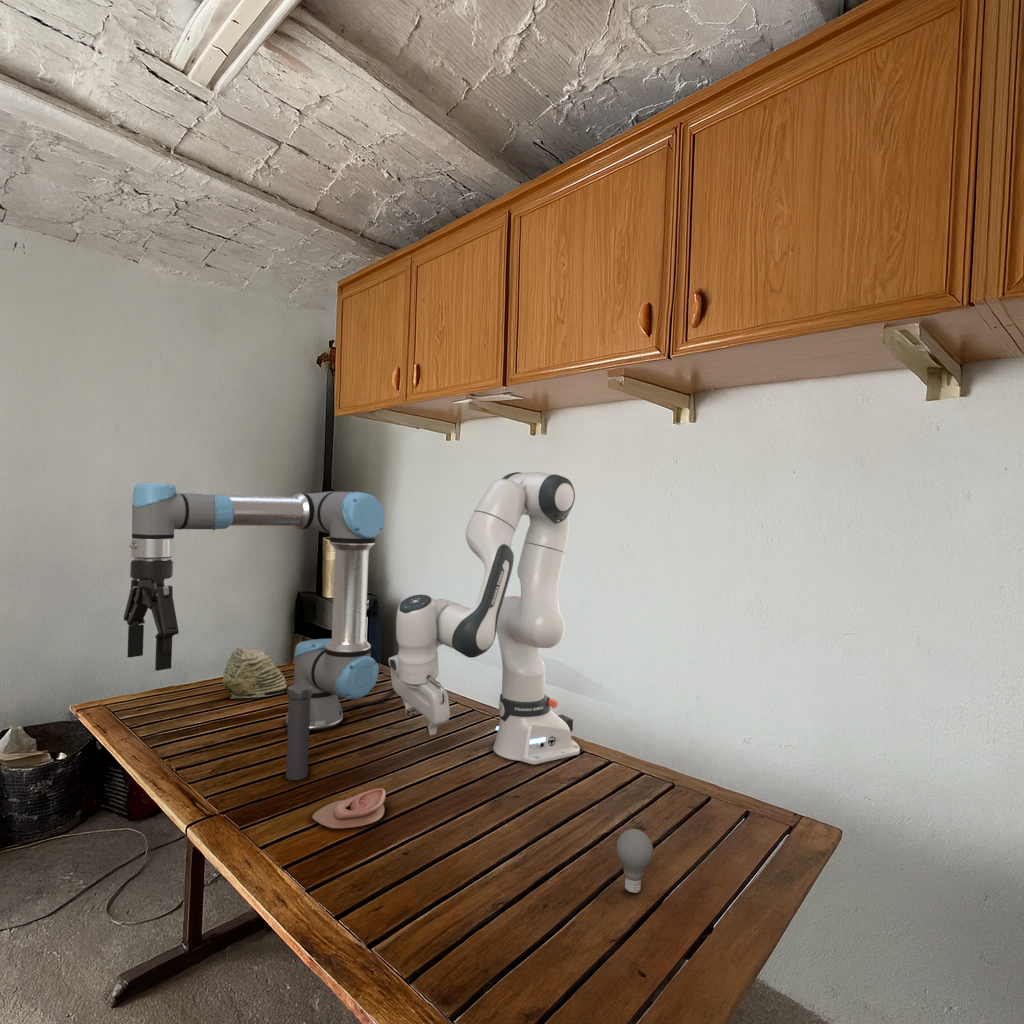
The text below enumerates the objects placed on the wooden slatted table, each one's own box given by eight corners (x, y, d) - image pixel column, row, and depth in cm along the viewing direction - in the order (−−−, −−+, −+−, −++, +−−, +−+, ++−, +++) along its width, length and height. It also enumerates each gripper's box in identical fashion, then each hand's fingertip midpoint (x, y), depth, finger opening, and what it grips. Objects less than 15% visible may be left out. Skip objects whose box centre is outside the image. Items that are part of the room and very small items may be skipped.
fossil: (218, 695, 195) (220, 647, 195) (278, 685, 208) (279, 640, 207) (228, 703, 189) (230, 653, 188) (289, 692, 201) (290, 645, 201)
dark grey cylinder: (281, 776, 143) (284, 689, 142) (299, 769, 146) (302, 684, 146) (294, 782, 140) (297, 693, 140) (311, 775, 144) (315, 689, 143)
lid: (282, 696, 142) (282, 687, 142) (302, 691, 147) (302, 682, 147) (296, 701, 139) (297, 692, 139) (317, 696, 143) (317, 687, 143)
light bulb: (610, 879, 108) (613, 822, 108) (644, 879, 109) (647, 822, 109) (619, 902, 102) (622, 840, 102) (655, 901, 103) (658, 840, 103)
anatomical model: (304, 803, 122) (333, 778, 133) (303, 824, 122) (332, 797, 133) (368, 813, 119) (392, 787, 131) (368, 834, 119) (391, 806, 131)
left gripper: (108, 554, 134) (104, 654, 134) (159, 565, 118) (155, 678, 119) (146, 552, 140) (143, 648, 140) (199, 563, 124) (195, 671, 124)
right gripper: (456, 681, 134) (457, 739, 137) (409, 648, 150) (411, 701, 153) (430, 691, 130) (432, 750, 134) (384, 656, 146) (388, 710, 149)
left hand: (148, 662), depth 129 cm, fingers open, 13 cm apart
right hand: (421, 723), depth 144 cm, fingers open, 8 cm apart
